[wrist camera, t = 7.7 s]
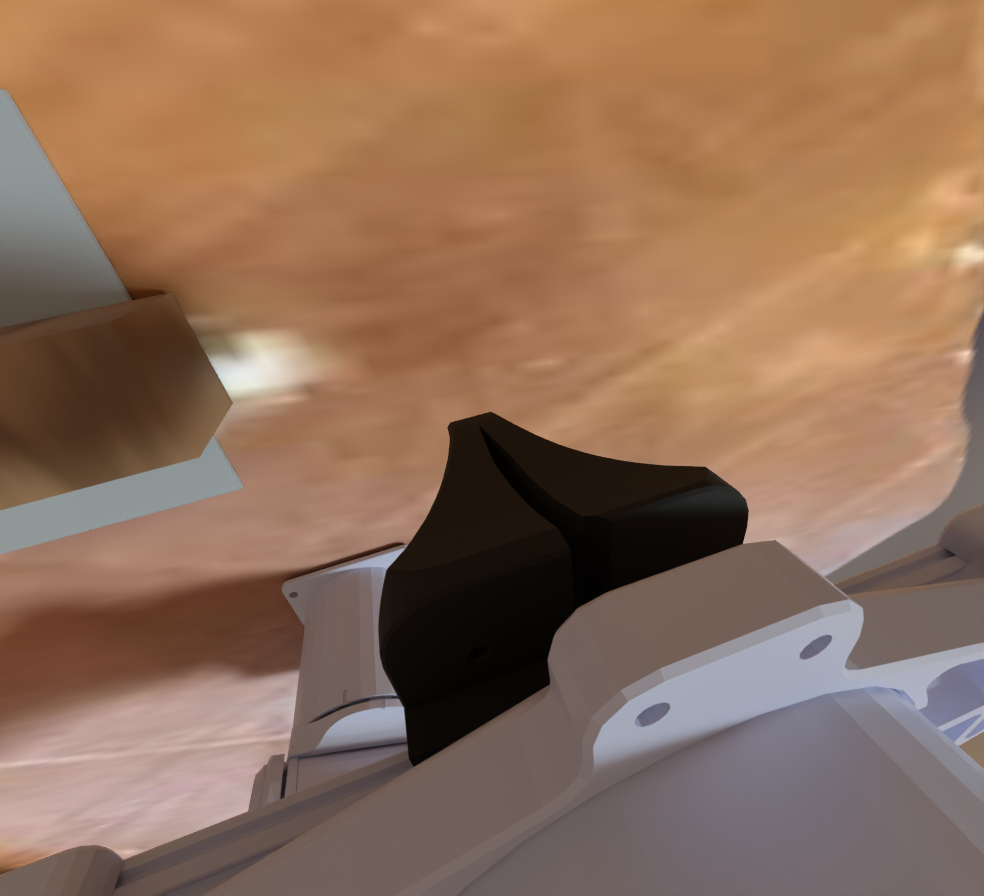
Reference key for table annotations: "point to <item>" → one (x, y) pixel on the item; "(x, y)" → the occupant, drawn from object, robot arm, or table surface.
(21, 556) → the table surface
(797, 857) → the robot arm
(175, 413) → the walnut block
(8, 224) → the rubber mat
